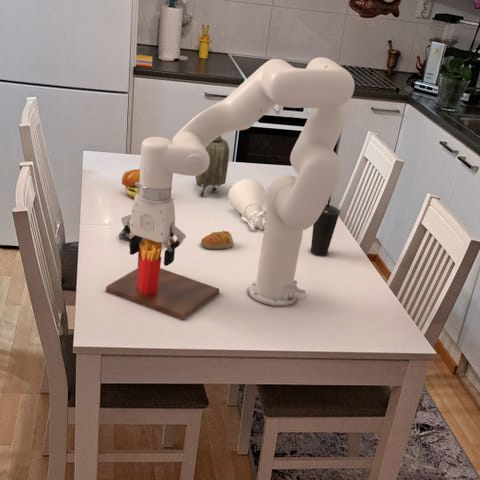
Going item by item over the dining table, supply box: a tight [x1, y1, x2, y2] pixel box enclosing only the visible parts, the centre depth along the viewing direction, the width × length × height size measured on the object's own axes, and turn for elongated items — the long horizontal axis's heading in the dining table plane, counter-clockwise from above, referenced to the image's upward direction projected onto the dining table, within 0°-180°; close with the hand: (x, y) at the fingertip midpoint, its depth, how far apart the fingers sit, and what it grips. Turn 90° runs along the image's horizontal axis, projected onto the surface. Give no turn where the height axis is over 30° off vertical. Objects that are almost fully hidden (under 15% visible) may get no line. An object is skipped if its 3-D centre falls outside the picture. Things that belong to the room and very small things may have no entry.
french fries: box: [136, 238, 163, 295], centre depth 195 cm, size 9×4×13 cm, turn 22°
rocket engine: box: [227, 178, 266, 232], centre depth 250 cm, size 12×12×18 cm
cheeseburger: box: [121, 168, 140, 199], centre depth 257 cm, size 10×11×10 cm
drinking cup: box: [310, 193, 341, 257], centre depth 232 cm, size 8×8×20 cm
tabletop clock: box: [194, 135, 230, 197], centre depth 265 cm, size 14×9×25 cm, turn 6°
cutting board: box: [105, 267, 220, 321], centre depth 200 cm, size 22×18×2 cm
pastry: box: [200, 230, 234, 250], centre depth 230 cm, size 9×7×4 cm
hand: (151, 258), depth 195 cm, fingers open, 9 cm apart
